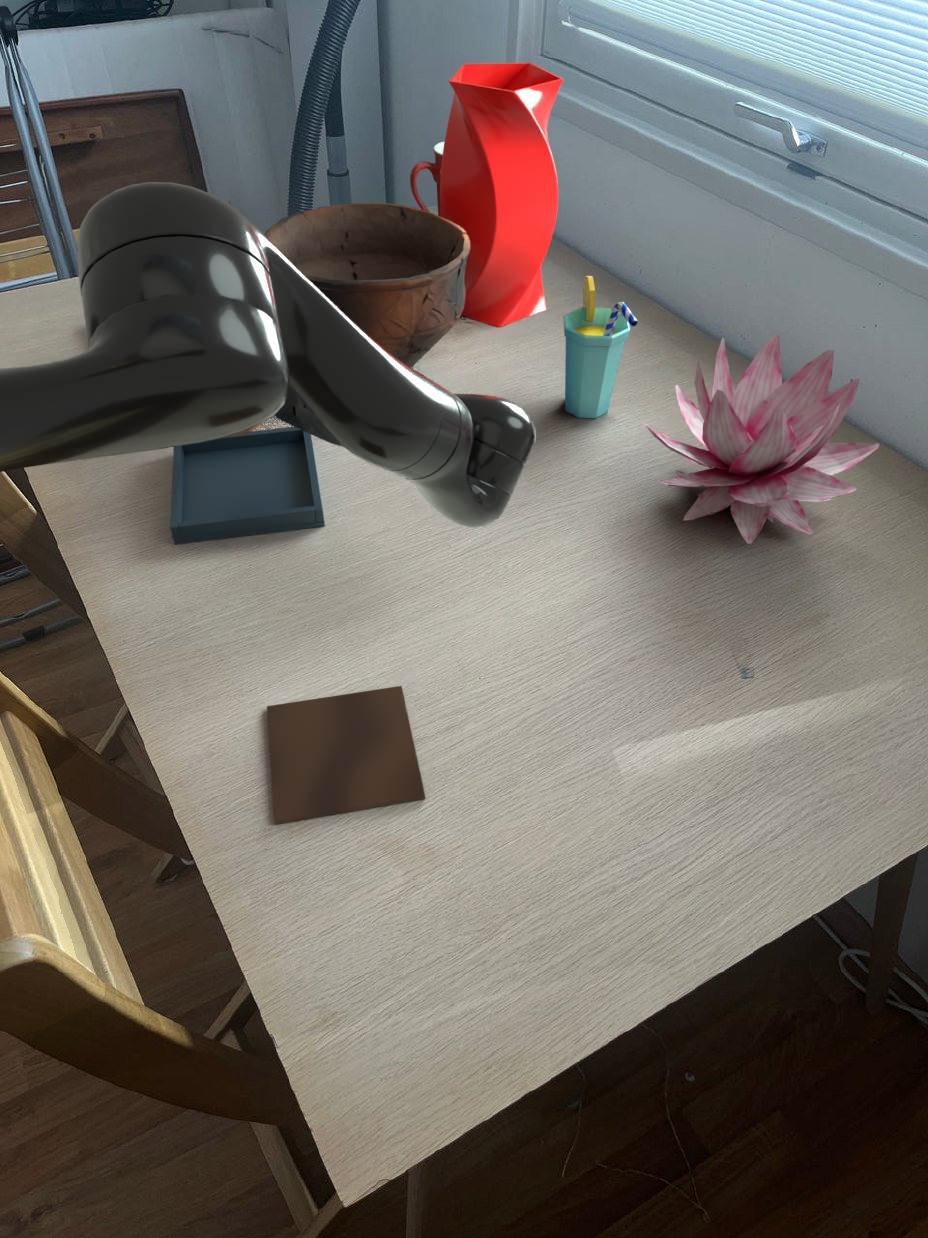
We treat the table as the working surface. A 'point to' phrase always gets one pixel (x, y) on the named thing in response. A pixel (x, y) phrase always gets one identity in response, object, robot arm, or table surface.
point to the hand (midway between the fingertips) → (204, 341)
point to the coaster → (342, 755)
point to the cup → (593, 353)
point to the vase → (501, 185)
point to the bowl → (383, 269)
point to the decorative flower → (766, 441)
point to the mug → (435, 170)
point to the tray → (245, 486)
